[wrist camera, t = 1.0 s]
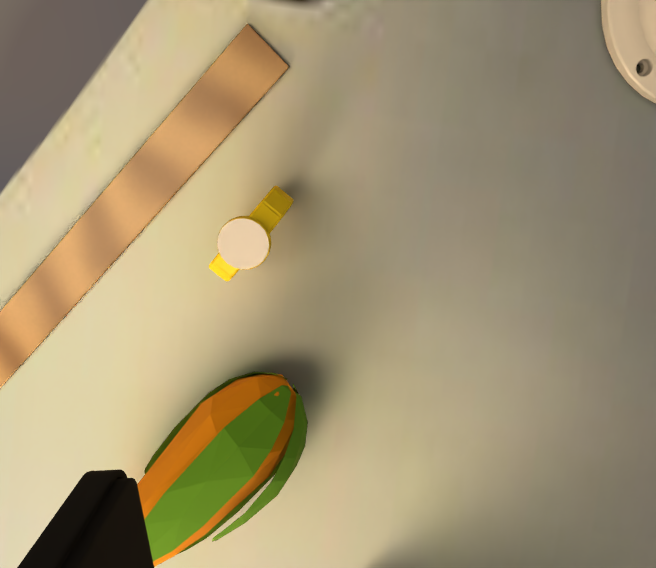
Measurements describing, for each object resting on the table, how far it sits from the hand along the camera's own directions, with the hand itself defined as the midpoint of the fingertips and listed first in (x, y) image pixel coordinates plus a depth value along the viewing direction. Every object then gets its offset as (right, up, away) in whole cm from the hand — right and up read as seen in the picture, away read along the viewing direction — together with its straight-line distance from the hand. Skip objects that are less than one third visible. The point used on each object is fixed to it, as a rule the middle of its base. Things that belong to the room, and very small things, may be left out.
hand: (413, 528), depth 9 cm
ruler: (-15, +8, +26) cm, 31 cm away
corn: (-10, -8, +31) cm, 34 cm away
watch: (-6, +8, +26) cm, 28 cm away
